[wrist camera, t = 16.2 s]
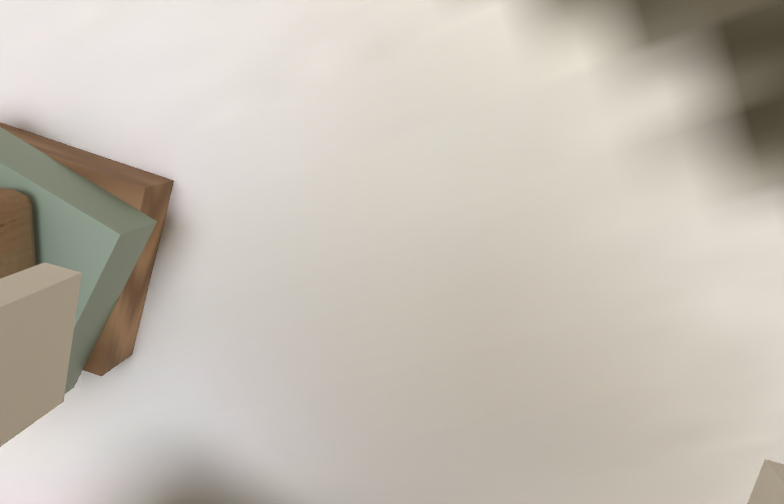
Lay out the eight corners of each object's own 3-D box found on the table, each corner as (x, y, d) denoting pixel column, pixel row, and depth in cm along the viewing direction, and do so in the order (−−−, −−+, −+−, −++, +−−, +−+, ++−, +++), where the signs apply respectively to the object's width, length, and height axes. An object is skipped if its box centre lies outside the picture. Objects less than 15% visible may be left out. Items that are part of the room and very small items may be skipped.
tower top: (73, 387, 51) (30, 417, 46) (-96, 285, 51) (-157, 305, 46) (157, 221, 47) (120, 234, 42) (-24, 112, 47) (-81, 113, 42)
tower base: (135, 352, 55) (101, 376, 50) (-32, 294, 56) (-81, 312, 51) (176, 180, 52) (145, 187, 47) (-1, 120, 53) (-50, 122, 48)
